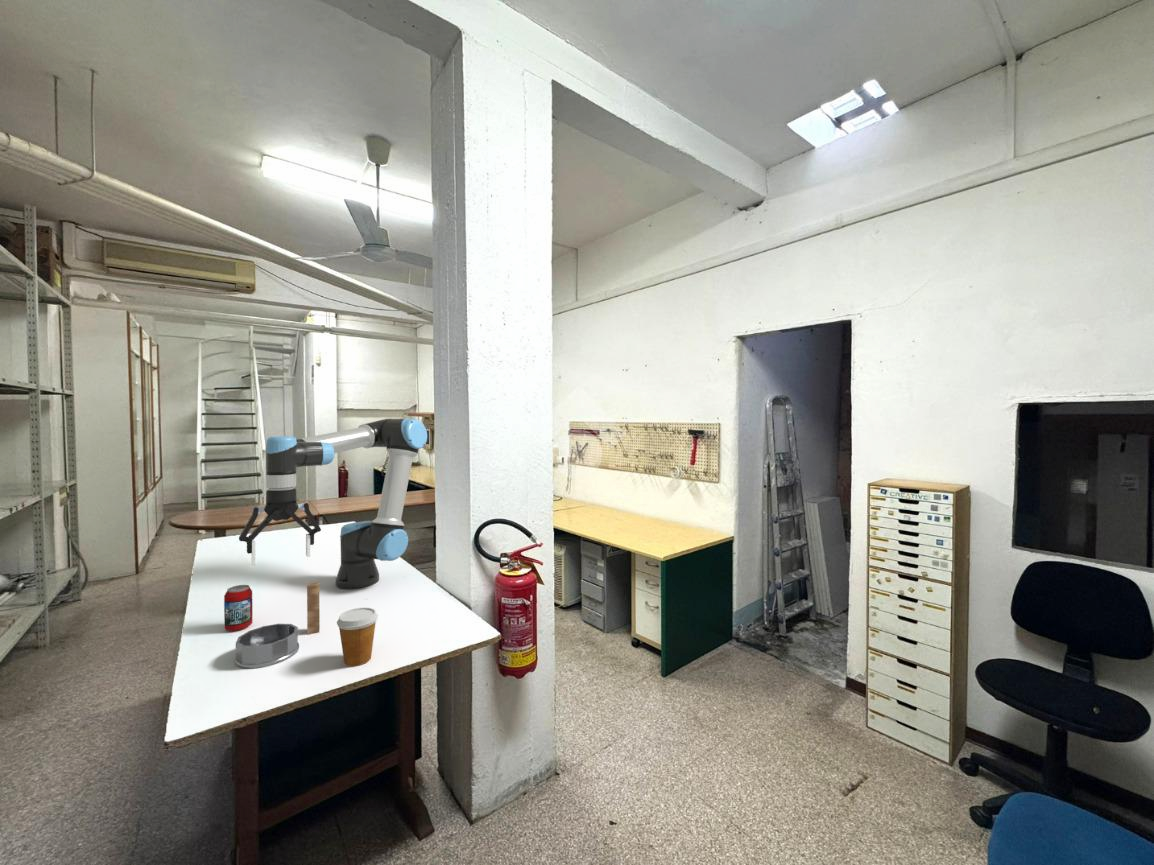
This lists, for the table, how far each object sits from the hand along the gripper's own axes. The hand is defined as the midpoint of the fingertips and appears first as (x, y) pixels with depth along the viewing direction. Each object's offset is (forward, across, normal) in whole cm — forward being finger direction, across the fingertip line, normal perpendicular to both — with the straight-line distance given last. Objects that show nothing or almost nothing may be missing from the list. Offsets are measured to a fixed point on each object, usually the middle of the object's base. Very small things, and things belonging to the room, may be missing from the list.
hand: (281, 560), depth 134 cm
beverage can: (+21, +10, -9) cm, 25 cm away
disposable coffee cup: (+21, -14, +33) cm, 41 cm away
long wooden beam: (+21, -7, +7) cm, 23 cm away
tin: (+21, +4, +15) cm, 26 cm away
